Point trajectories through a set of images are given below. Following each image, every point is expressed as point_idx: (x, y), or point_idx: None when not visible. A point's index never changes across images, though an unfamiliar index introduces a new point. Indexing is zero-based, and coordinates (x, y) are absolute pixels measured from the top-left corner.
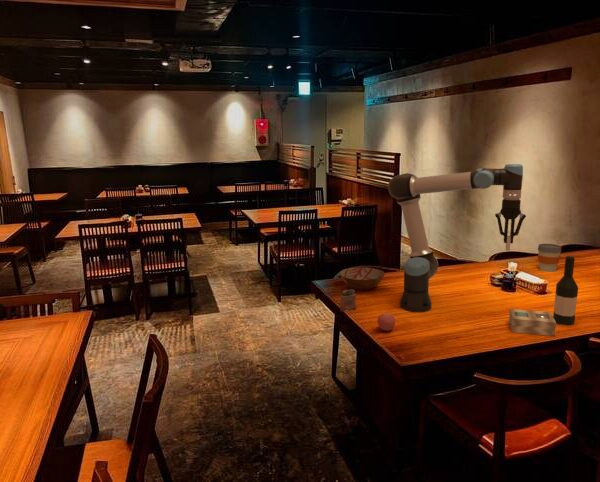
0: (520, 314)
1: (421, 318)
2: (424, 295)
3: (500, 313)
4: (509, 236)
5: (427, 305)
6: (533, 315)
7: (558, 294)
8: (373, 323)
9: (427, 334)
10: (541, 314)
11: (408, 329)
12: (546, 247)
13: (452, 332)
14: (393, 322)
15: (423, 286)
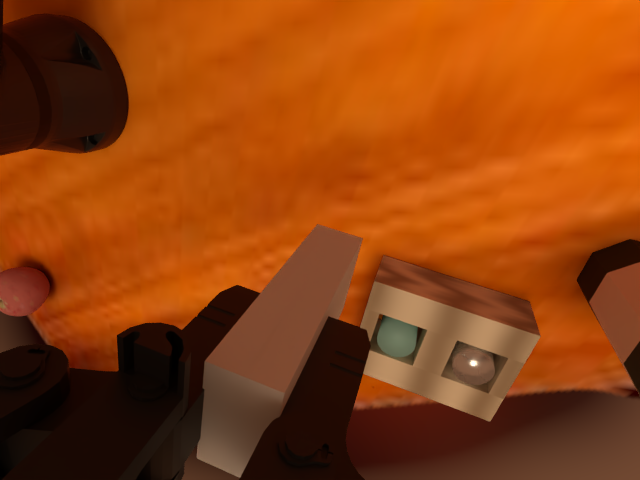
0: (388, 345)
1: (108, 206)
2: (53, 140)
3: (384, 167)
4: (246, 451)
5: (100, 138)
6: (439, 355)
7: (629, 374)
8: (4, 234)
9: (132, 315)
10: (476, 359)
11: (87, 281)
12: None
13: (190, 312)
14: (34, 310)
15: (8, 151)
